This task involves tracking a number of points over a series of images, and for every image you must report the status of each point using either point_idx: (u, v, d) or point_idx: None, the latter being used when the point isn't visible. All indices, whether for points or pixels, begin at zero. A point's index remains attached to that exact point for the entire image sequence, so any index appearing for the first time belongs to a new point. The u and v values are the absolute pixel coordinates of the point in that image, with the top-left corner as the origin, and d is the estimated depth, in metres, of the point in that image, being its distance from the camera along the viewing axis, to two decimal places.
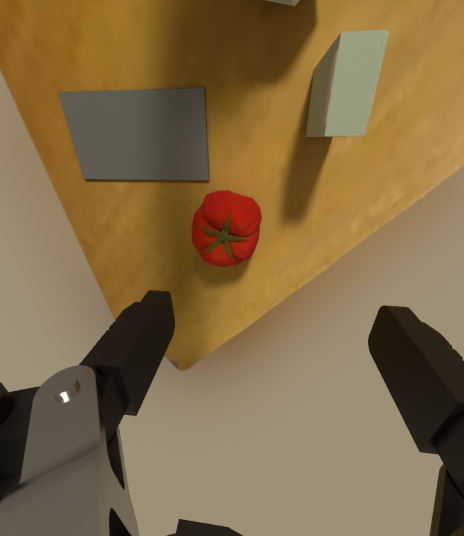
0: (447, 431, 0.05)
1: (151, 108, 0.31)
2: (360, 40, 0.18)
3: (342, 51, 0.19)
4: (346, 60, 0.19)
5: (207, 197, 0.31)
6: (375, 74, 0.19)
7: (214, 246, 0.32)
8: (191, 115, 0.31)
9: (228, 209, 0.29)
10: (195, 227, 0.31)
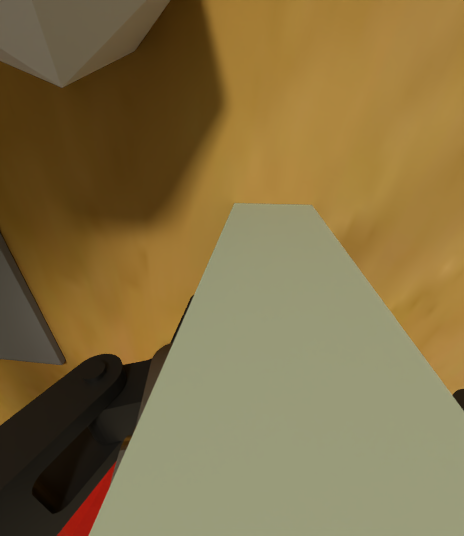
0: None
1: None
2: None
3: None
4: None
5: None
6: None
7: None
8: None
9: None
10: None
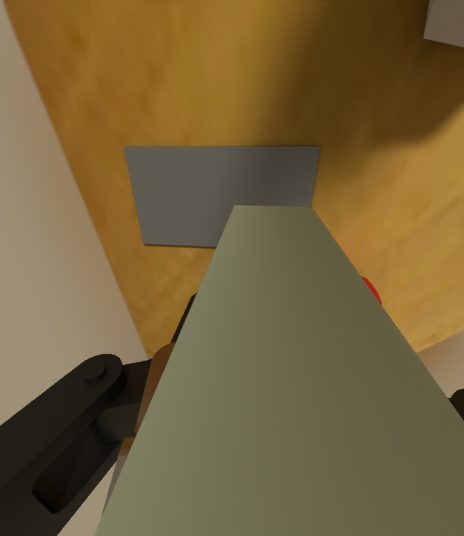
0: None
1: (244, 168, 0.24)
2: None
3: None
4: None
5: None
6: None
7: None
8: (296, 178, 0.24)
9: None
10: None
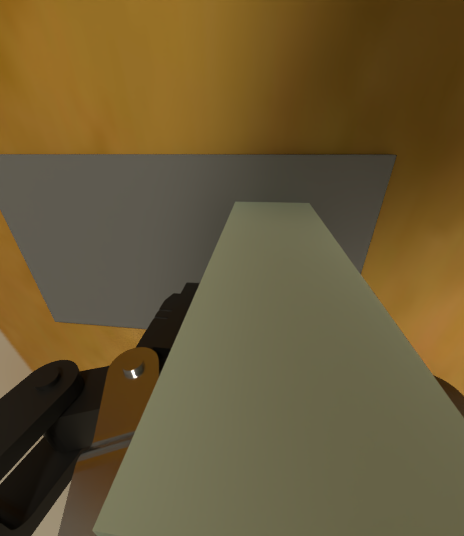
0: None
1: (224, 200, 0.11)
2: None
3: None
4: None
5: None
6: None
7: None
8: (335, 221, 0.11)
9: None
10: None
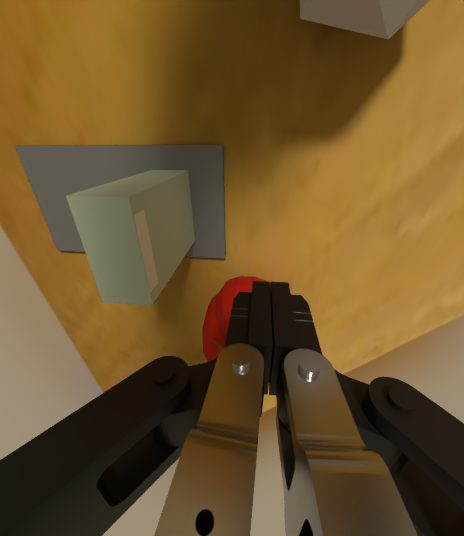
0: (276, 372, 0.07)
1: (146, 169, 0.22)
2: (96, 206, 0.12)
3: (78, 217, 0.13)
4: (89, 227, 0.13)
5: (226, 297, 0.22)
6: (134, 244, 0.13)
7: None
8: (203, 180, 0.22)
9: None
10: (208, 338, 0.22)
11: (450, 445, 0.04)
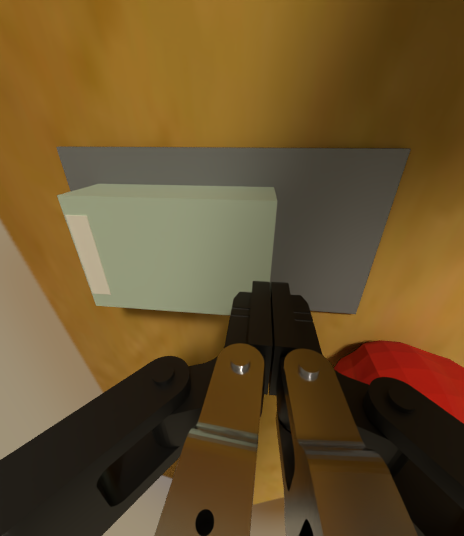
0: (276, 372, 0.07)
1: (266, 186, 0.14)
2: None
3: None
4: None
5: None
6: None
7: None
8: (357, 204, 0.14)
9: None
10: None
11: (450, 445, 0.04)
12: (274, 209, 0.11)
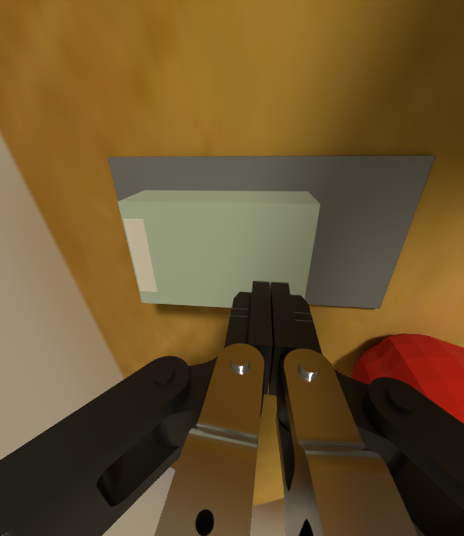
0: (276, 372, 0.07)
1: None
2: None
3: None
4: None
5: (423, 378, 0.15)
6: None
7: None
8: (385, 205, 0.15)
9: None
10: None
11: (450, 445, 0.04)
12: (317, 211, 0.12)
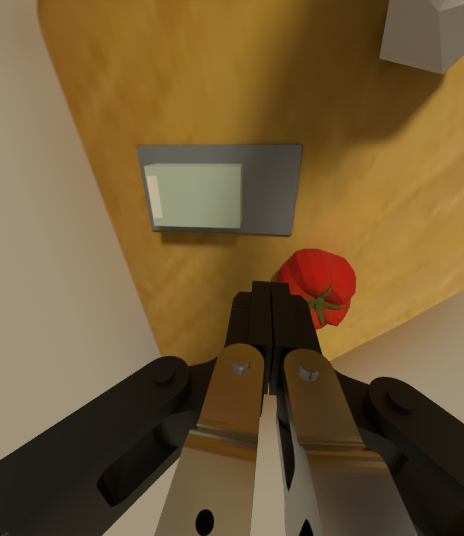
0: (276, 372, 0.07)
1: (239, 163, 0.28)
2: None
3: None
4: None
5: (301, 261, 0.28)
6: None
7: None
8: (283, 171, 0.28)
9: (329, 278, 0.27)
10: None
11: (450, 445, 0.04)
12: (239, 170, 0.26)
